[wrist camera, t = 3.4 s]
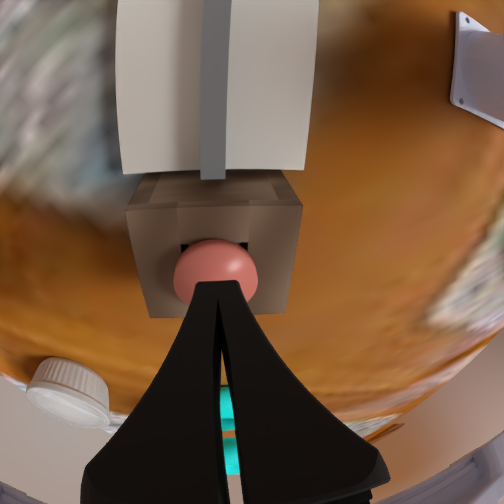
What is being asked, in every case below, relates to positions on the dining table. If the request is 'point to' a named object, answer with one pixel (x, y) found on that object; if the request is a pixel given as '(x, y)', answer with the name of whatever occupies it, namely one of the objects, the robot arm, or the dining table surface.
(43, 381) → the ramekin
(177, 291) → the button
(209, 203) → the cabinet
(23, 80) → the dining table surface
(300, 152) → the rail
